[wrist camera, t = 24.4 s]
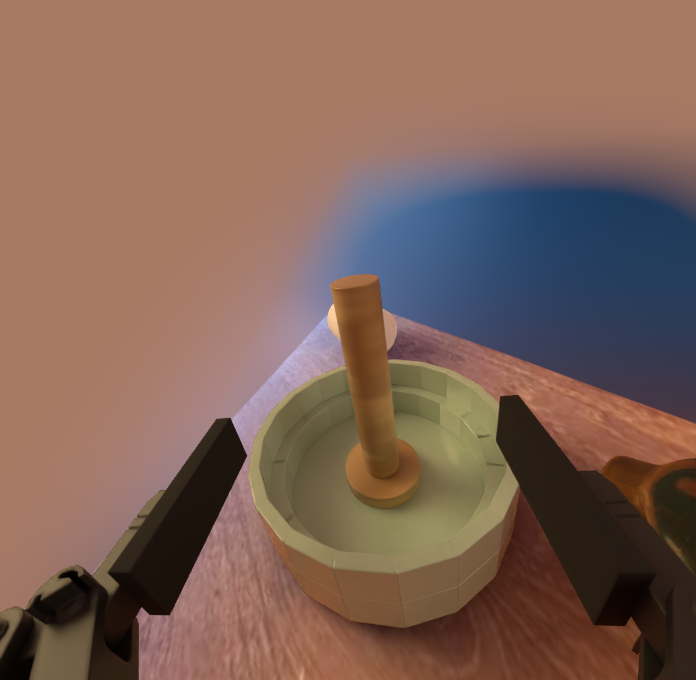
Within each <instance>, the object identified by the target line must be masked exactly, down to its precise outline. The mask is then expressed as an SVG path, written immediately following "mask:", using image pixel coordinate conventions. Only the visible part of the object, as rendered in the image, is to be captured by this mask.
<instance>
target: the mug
mask: <svg viewBox="0 0 696 680" xmlns="http://www.w3.org/2000/svg"><path fill="white" fill-rule="evenodd" d="M382 310H383V309H382ZM383 319H384V328H385V337H386V346H387V352H388V350H389V349H390V348H391V347H392V345H393V343H394V341H395V339H396V335H397V325H396V322H395V319H394V318H393V316H392V315H391V314H390V313H389V312H387V311H386V310H383ZM328 326H329V328H330V330H331V332H332V333H333V334H334V335H335V336H336V337H337V338H338V339H339V340H340V341H341V339H340V334H339V329H338V324H337V318H336V313H335V308H334V304H333V305H332V306H331V308H330V310H329V313H328Z"/></svg>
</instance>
